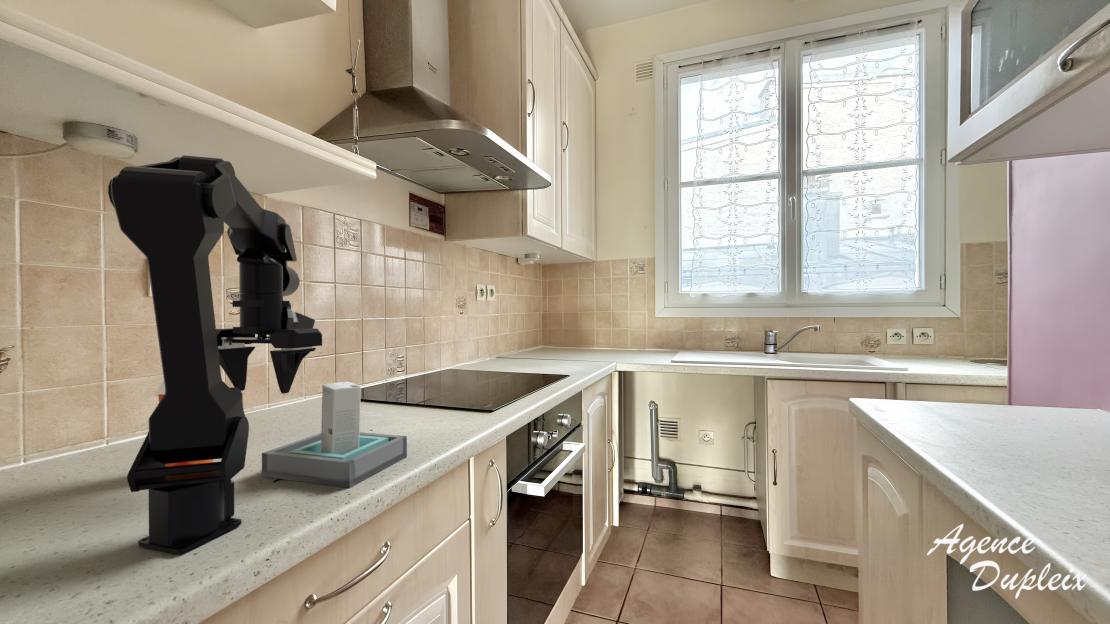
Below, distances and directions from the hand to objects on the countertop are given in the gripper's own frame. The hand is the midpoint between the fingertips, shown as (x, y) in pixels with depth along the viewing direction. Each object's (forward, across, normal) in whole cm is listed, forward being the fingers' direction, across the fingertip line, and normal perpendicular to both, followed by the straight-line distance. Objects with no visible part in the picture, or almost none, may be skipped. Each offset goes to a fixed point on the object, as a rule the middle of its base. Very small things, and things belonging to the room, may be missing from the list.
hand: (262, 391), depth 67 cm
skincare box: (+11, -12, -3) cm, 17 cm away
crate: (+12, -12, -4) cm, 17 cm away
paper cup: (+12, +10, +4) cm, 16 cm away
